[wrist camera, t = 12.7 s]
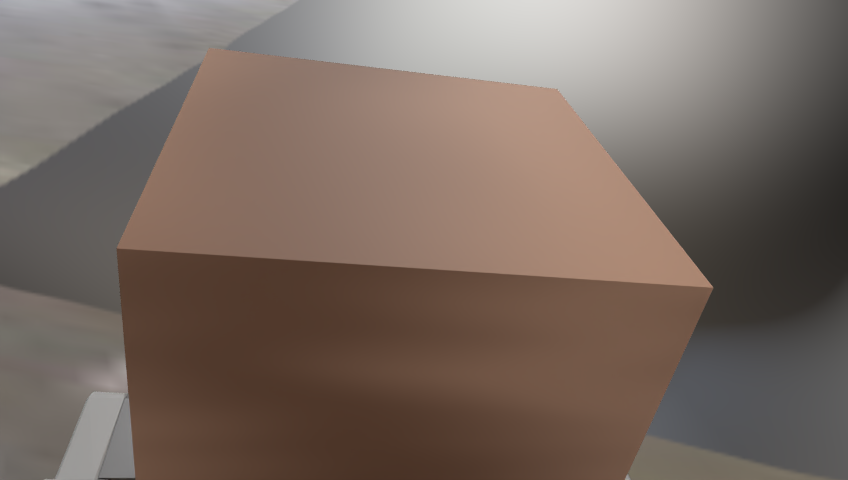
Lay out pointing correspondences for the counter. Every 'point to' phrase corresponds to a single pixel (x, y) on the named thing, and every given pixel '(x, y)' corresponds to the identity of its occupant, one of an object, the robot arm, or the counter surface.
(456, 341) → the terracotta block
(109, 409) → the robot arm
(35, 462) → the counter surface
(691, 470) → the counter surface
